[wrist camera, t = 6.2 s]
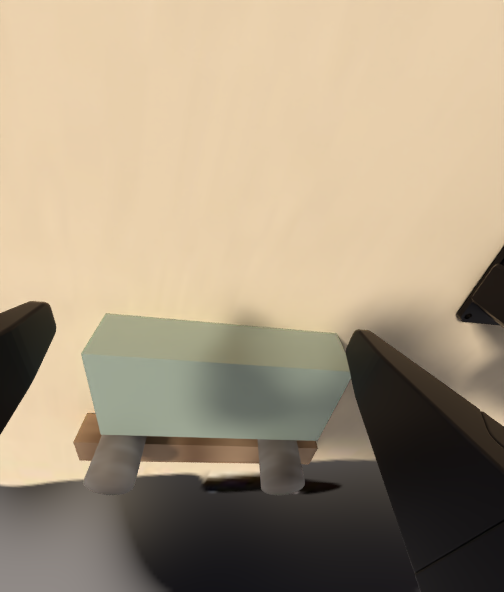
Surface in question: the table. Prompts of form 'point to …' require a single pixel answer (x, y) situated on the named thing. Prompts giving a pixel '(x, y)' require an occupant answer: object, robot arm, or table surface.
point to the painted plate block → (212, 379)
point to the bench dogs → (187, 457)
